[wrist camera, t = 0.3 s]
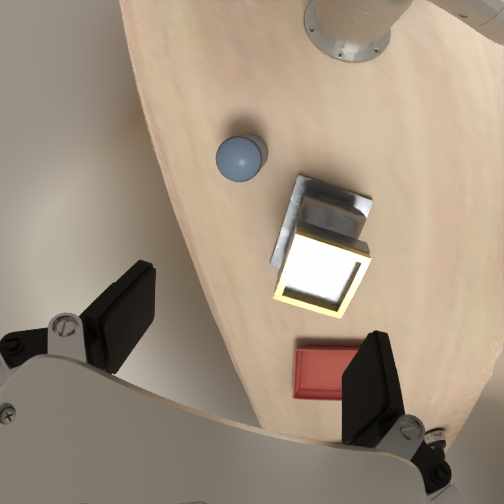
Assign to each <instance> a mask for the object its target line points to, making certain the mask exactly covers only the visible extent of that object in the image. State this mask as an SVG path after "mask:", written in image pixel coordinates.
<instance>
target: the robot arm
mask: <svg viewBox="0 0 504 504" xmlns="http://www.w3.org/2000/svg"><path fill="white" fill-rule="evenodd" d="M412 1H413V0H312V1H311V3H310V4H309V5H308V7H307V9H306V12H305V18H304V21H305V28H306V31H307V34H308V36H309V38H310V39H311V41H312V42H313V44H314V45H315V46H316V47H317V48H318V49H319V50H321V51H322V52H323V53H325V54H326V55H328V56H330V57H332V58H334V59H337V60H340V61H344V62H349V63H360V62H366V61H369V60H372V59H374V58H376V57H378V56H379V55H380V54H381V53H382V52H383V51H384V50H385V49H386V48H387V46H388V44H389V41H390V37H391V29H390V27H391V26H392V25H393V24H394V23H395V22H396V21H397V20H398V19H399V18H400V17H401V16H402V15H403V13H404V12H405V11H406V10H407V9H408V8H409V7H410V5H411V3H412ZM428 1H430V2H431V3H433V4H435V5H437V6H438V7H440V8H442V9H444V10H445V11H447V12H449V13H450V14H452V15H453V16H455V17H456V18H458V19H460V20H461V21H463V22H464V23H466V24H467V25H469V26H470V27H472V28H473V29H475V30H476V31H477V32H479V33H480V34H482V35H483V36H485V37H486V38H488V39H490V40H492V41H493V42H495V43H498V44H500V45H503V46H504V0H428ZM310 30H314V31H313V32H311V31H310ZM374 50H377V52H375V51H374ZM338 54H341V55H342V57H339V56H338ZM155 281H156V269H155V268H153V265H152V263H149V262H146V261H143V260H139V261H137V262H136V263H135V264H134V265H133V266H132V267H131V268H130V269H129V270H128V271H127V272H126V273H125V274H124V275H122V276H121V277H120V278H119V279H118V280H117V281H116V282H114V283H112V284H111V285H110V286H109V287H108V288H107V289H106V290H105V291H104V292H103V293H102V294H101V295H100V296H99V297H98V298H97V299H96V300H95V301H94V302H93V303H92V304H91V305H90V306H89V307H88V308H87V309H86V310H85V311H84V312H83V313H82V314H81V315H80V316H79V317H78V316H76V315H75V314H72V313H61V314H58V315H56V316H55V317H54V318H52V319H51V321H50V322H49V326H48V328H41V329H33V330H26V331H17V332H12V333H8V334H7V335H5V336H4V337H3V338H2V339H1V341H0V504H466V503H465V501H464V500H463V498H462V496H461V494H460V493H459V491H458V489H457V487H456V486H455V484H454V483H452V484H451V483H450V480H451V475H452V474H451V469H450V466H449V465H448V463H447V462H446V461H445V460H444V459H443V458H441V457H440V456H439V455H438V454H437V453H436V452H435V451H434V450H433V449H432V448H431V447H430V446H429V445H428V444H427V443H426V442H424V441H423V439H424V437H425V428H424V425H423V423H422V422H421V421H420V420H419V418H417V417H415V416H413V415H410V414H406V415H405V410H404V405H403V399H402V393H401V388H400V383H399V378H398V373H397V369H396V366H395V362H394V357H393V353H392V349H391V344H390V340H389V336H388V334H387V333H385V332H381V331H377V330H375V331H373V333H369V334H368V335H367V337H366V339H365V340H364V342H363V343H362V345H361V347H360V348H359V350H358V351H357V353H356V354H355V356H354V357H353V359H352V360H351V362H350V363H349V365H348V366H347V368H346V369H345V371H344V372H343V374H342V443H345V444H338V443H331V442H325V441H319V440H313V439H307V438H301V437H296V436H291V435H286V434H282V433H277V432H273V431H269V430H264V429H260V428H256V427H252V426H249V425H245V424H241V423H238V422H234V421H231V420H227V419H224V418H221V417H218V416H214V415H211V414H208V413H205V412H202V411H199V410H196V409H194V408H191V407H188V406H185V405H182V404H180V403H177V402H174V401H172V400H169V399H167V398H164V397H161V396H159V395H157V394H154V393H152V392H150V391H147V390H145V389H143V388H140V387H138V386H136V385H134V384H131V383H129V382H127V381H125V380H122V379H120V378H118V377H116V376H114V375H112V373H113V374H116V373H117V372H118V370H119V368H120V367H121V366H122V364H123V363H124V362H125V360H126V359H127V357H128V356H129V354H130V353H131V351H132V350H133V349H134V347H135V346H136V344H137V343H138V341H139V340H140V339H141V337H142V336H143V334H144V333H145V332H146V330H147V329H148V327H149V326H150V325H151V323H152V322H153V319H154V314H155Z"/></svg>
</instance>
